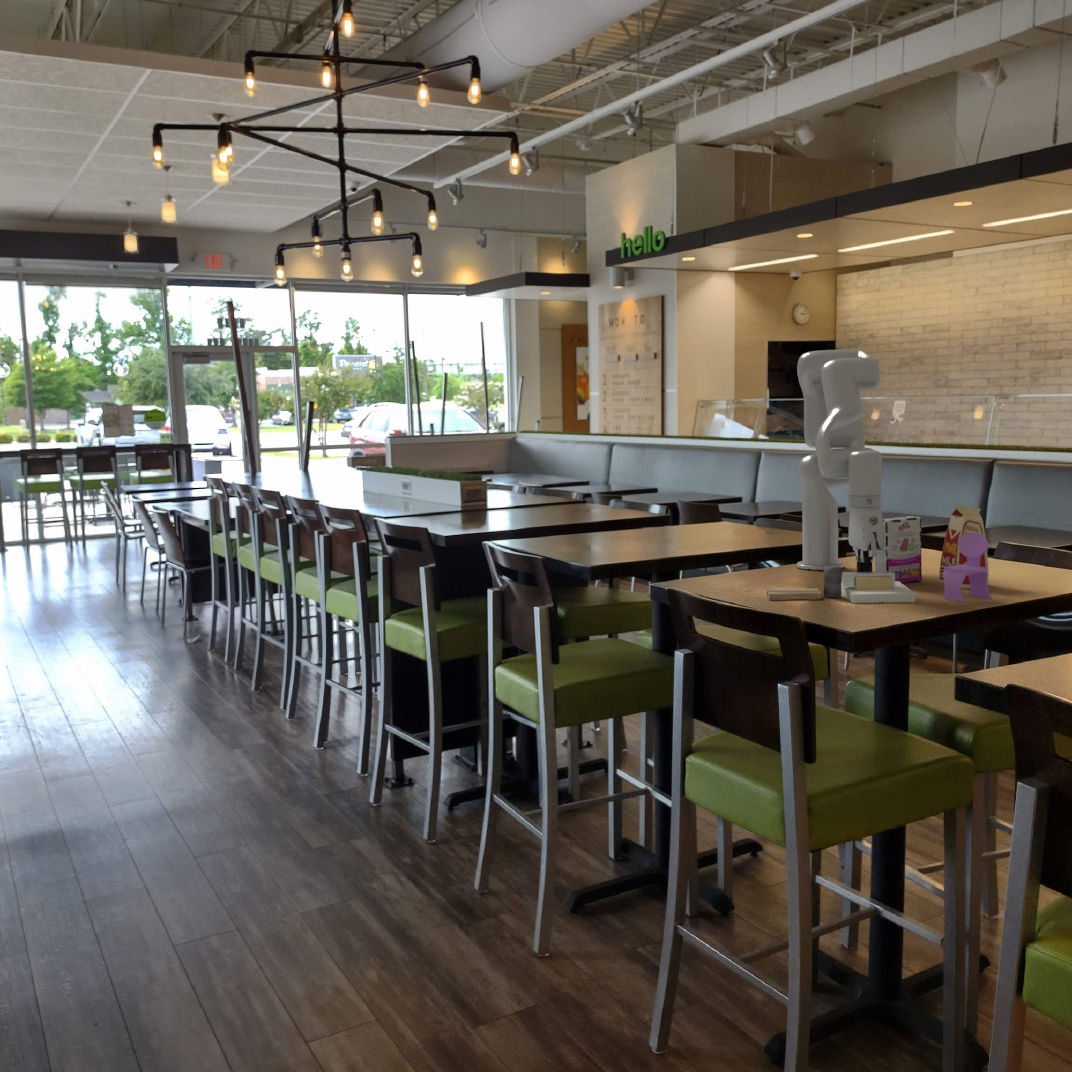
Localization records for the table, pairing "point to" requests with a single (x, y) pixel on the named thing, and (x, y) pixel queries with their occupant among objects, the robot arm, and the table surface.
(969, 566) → the toy chair
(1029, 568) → the table surface
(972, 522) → the milk carton
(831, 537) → the robot arm
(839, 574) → the jamb
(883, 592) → the butter dish
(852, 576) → the swing bar
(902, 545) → the candy bar box
